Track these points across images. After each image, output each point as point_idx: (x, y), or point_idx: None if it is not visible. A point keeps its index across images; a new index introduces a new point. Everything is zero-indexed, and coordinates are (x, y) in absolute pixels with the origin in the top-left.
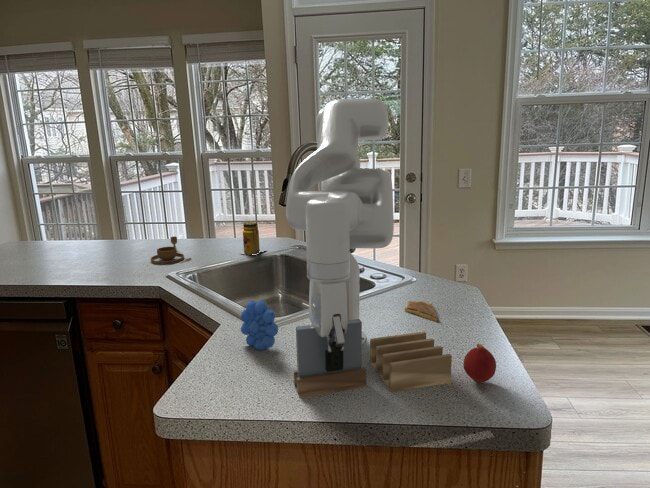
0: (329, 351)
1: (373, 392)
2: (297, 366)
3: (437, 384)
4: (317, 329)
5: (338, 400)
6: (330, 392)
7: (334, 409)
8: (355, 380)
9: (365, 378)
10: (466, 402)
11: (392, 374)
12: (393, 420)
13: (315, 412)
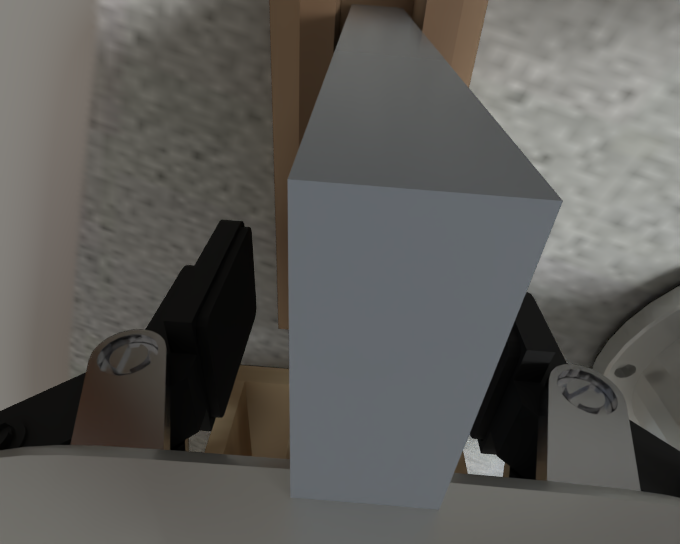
0: (103, 351)
1: (263, 326)
2: (402, 24)
3: None
4: (69, 535)
5: (239, 190)
6: (275, 176)
7: (169, 148)
8: None
9: None
10: None
11: (211, 438)
12: (80, 315)
13: (154, 43)
